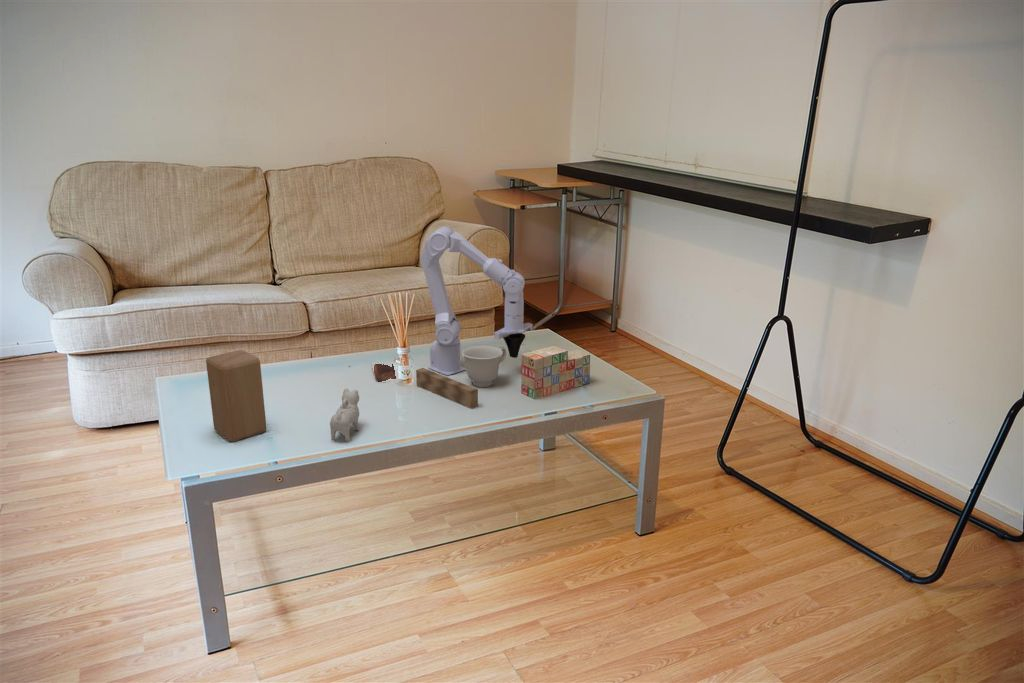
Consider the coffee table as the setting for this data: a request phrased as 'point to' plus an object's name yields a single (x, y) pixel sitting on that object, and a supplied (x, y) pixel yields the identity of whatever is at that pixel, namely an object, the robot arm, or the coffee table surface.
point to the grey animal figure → (346, 415)
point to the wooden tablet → (384, 372)
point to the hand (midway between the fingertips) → (513, 356)
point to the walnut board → (447, 388)
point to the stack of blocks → (553, 371)
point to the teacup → (483, 363)
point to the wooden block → (236, 394)
